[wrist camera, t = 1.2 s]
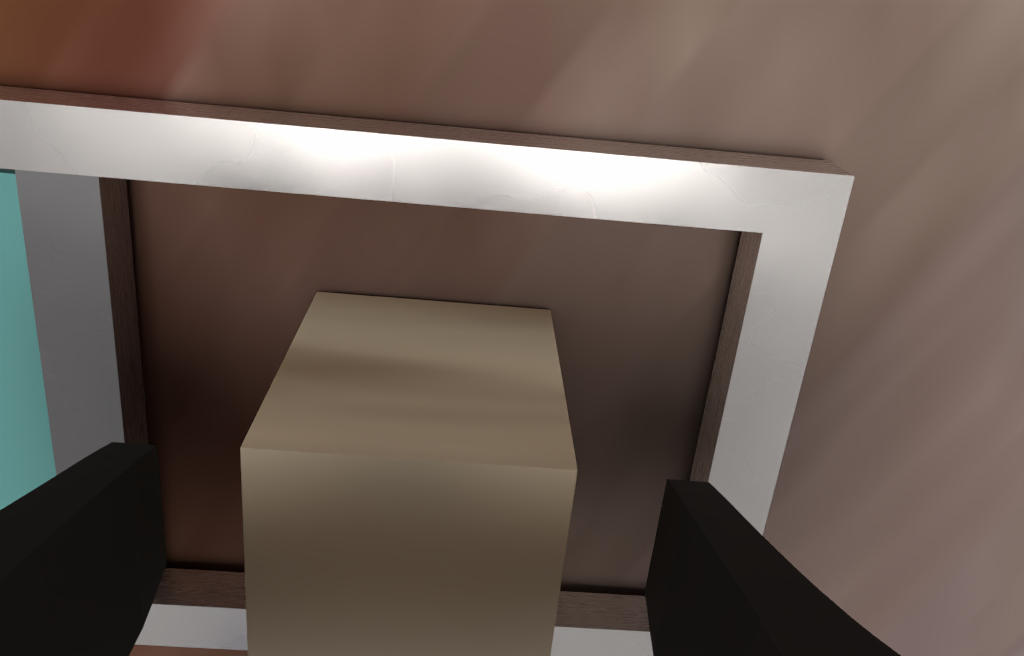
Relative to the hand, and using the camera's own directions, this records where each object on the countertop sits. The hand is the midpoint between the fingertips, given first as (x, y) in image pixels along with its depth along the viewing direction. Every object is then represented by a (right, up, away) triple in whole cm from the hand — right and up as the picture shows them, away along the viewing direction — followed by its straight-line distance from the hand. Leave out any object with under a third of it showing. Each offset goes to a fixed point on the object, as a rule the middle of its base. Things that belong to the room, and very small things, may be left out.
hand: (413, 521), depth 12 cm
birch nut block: (0, +1, +3) cm, 4 cm away
